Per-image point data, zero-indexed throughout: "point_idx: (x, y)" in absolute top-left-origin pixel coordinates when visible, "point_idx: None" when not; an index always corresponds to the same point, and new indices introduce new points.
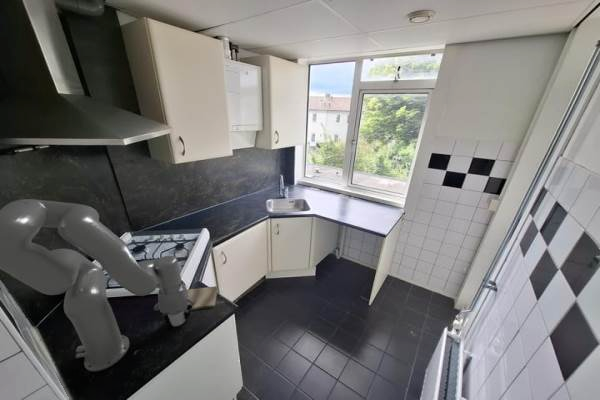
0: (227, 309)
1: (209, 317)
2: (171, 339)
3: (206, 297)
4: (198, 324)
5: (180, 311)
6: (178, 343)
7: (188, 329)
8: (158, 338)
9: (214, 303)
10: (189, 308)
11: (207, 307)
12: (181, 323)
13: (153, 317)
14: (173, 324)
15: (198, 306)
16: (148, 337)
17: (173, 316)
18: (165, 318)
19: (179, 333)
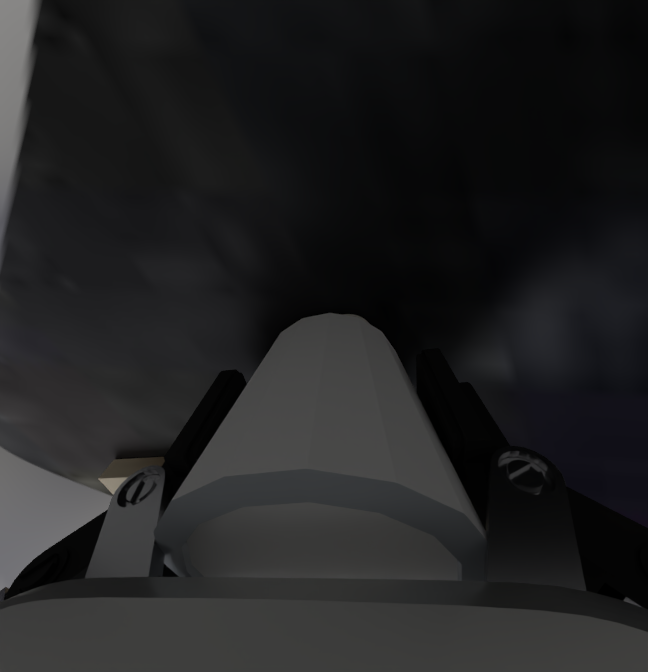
0: (2, 434)
1: (79, 383)
2: (302, 130)
3: None
4: (121, 324)
5: (179, 526)
6: (170, 51)
7: (180, 272)
8: (483, 150)
9: (106, 486)
10: (84, 543)
11: (161, 458)
12: (278, 337)
13: (585, 411)
14: (351, 326)
15: None
16: (625, 170)
17: (298, 432)
18: (468, 397)
19: (247, 223)
